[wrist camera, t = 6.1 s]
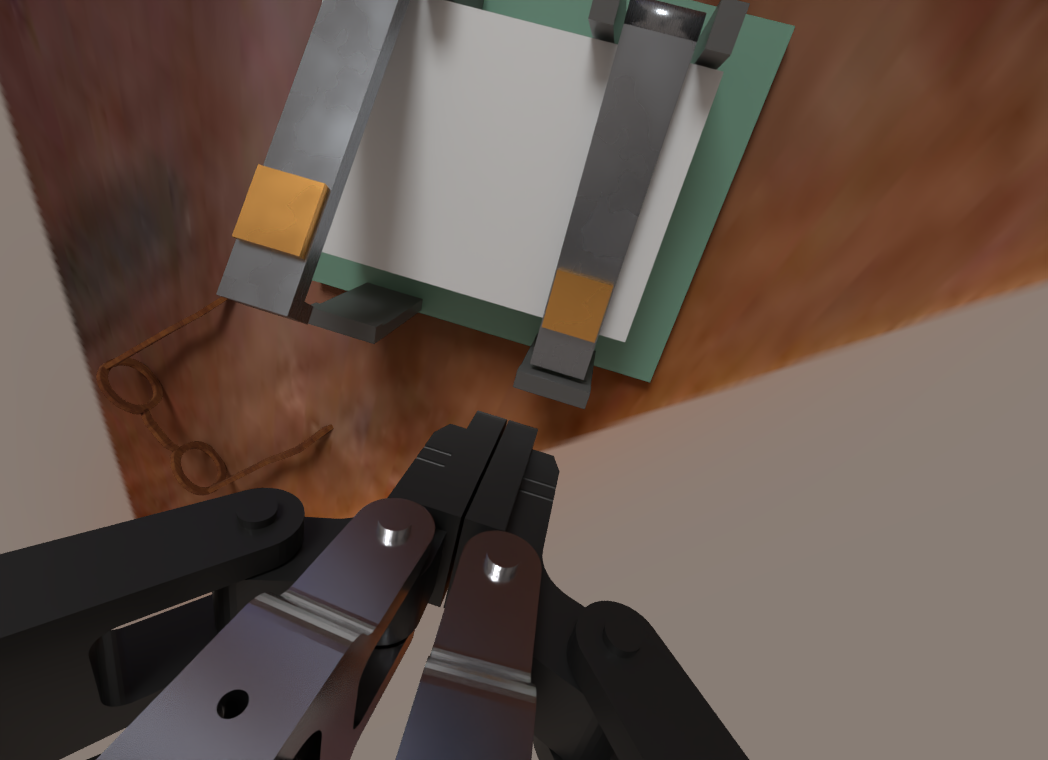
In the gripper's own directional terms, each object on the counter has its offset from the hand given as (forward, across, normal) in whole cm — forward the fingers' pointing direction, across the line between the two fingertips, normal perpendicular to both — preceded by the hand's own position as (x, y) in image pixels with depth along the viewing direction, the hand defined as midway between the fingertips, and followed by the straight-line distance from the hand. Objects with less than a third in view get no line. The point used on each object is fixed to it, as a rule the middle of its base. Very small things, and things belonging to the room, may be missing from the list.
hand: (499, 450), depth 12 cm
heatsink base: (+21, +5, -5) cm, 22 cm away
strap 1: (+12, +11, -5) cm, 17 cm away
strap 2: (+16, -1, -4) cm, 16 cm away
